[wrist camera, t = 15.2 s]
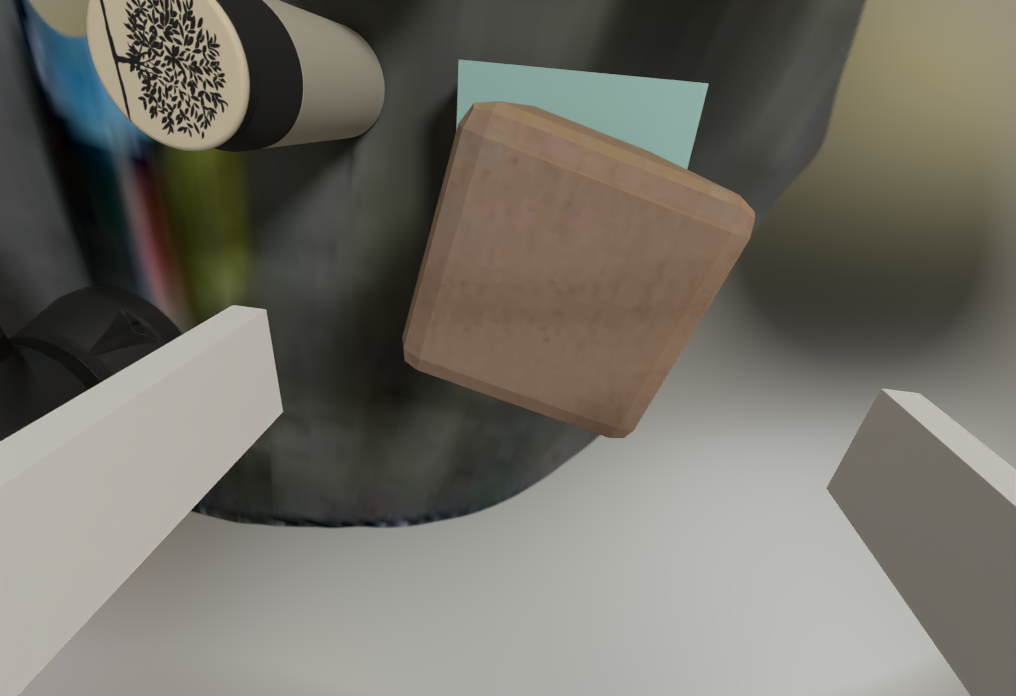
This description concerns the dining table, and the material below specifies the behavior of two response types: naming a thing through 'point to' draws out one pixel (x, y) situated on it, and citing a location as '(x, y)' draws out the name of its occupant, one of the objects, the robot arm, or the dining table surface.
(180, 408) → the robot arm
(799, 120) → the dining table surface
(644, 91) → the base brick
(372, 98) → the travel mug
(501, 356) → the wooden block
